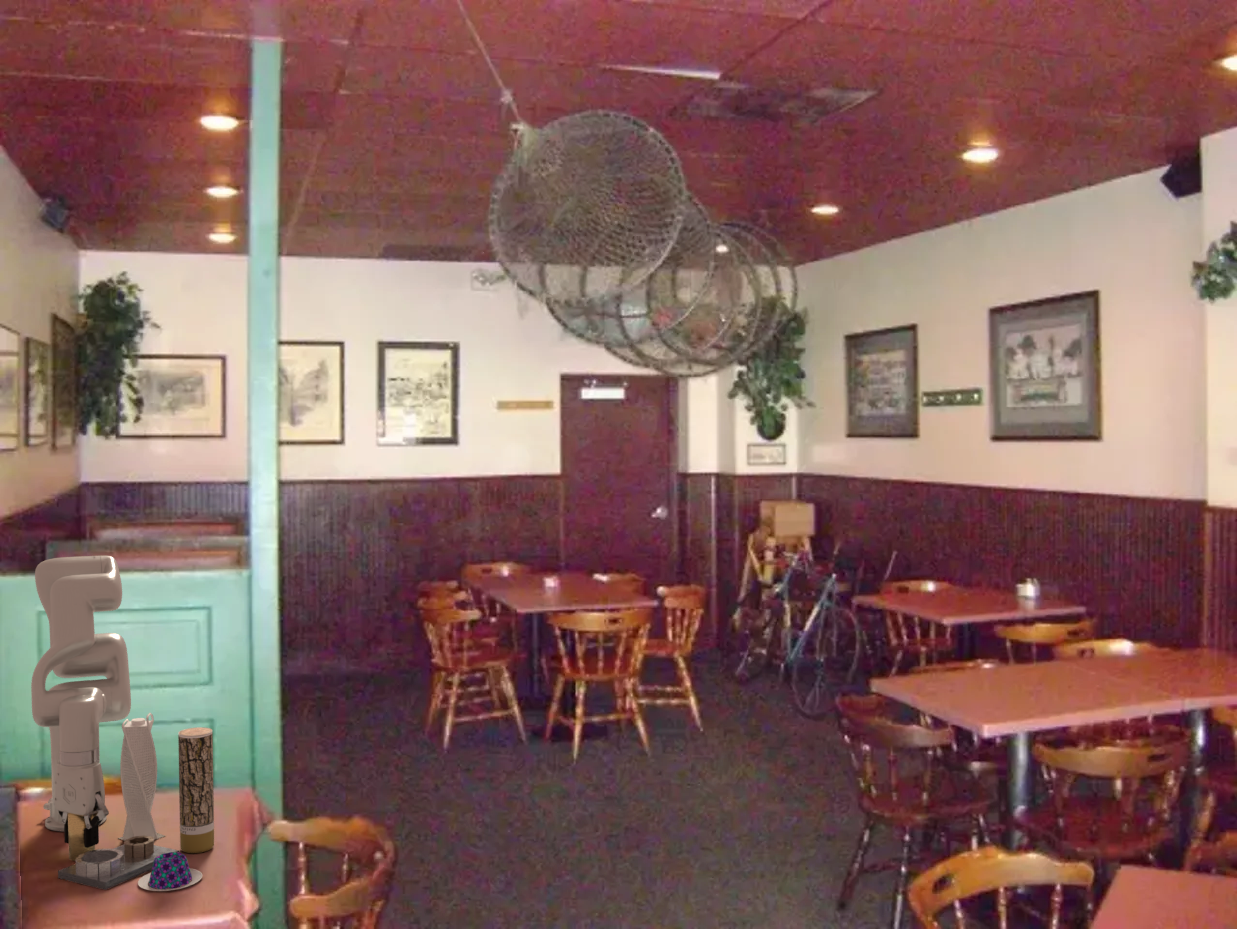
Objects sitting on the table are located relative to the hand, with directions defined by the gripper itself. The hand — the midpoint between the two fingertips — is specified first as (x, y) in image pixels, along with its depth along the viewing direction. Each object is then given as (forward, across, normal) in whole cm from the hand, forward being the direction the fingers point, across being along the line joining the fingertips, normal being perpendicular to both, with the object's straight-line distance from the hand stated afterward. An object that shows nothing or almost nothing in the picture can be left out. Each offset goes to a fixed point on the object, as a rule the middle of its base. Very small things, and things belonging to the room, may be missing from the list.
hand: (81, 842), depth 263 cm
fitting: (+3, 0, 0) cm, 3 cm away
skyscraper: (+4, +3, +13) cm, 14 cm away
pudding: (+4, +26, -2) cm, 27 cm away
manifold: (+3, +12, -1) cm, 12 cm away
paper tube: (+3, +18, +14) cm, 23 cm away
